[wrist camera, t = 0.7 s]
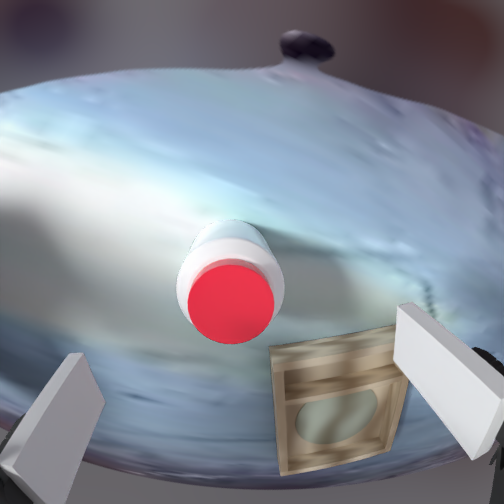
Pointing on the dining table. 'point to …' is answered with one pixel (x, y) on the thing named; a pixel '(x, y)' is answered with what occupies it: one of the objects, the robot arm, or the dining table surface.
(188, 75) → the dining table surface
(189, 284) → the pill bottle
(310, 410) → the crate
